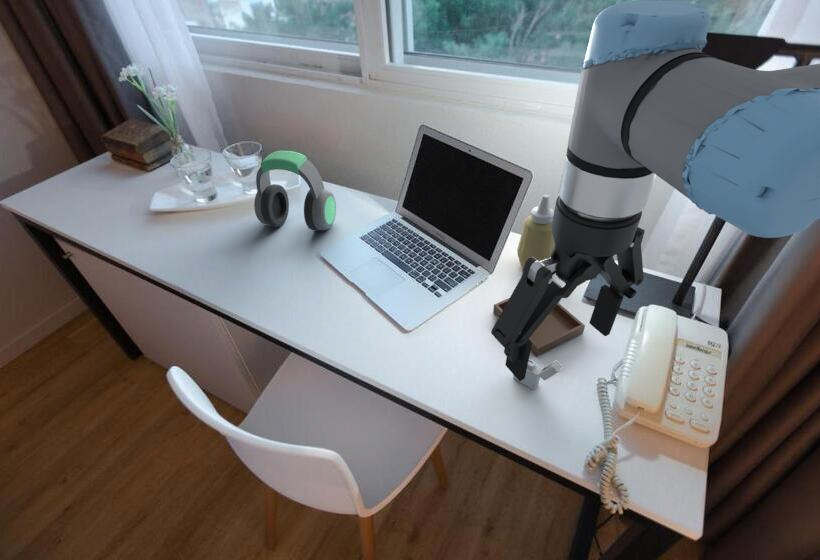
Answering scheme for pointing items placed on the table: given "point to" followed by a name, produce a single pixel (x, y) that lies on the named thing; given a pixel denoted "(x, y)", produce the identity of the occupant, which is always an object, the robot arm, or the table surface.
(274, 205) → the headphones
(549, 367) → the lighter
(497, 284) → the table surface
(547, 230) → the squeeze bottle
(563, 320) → the tray
